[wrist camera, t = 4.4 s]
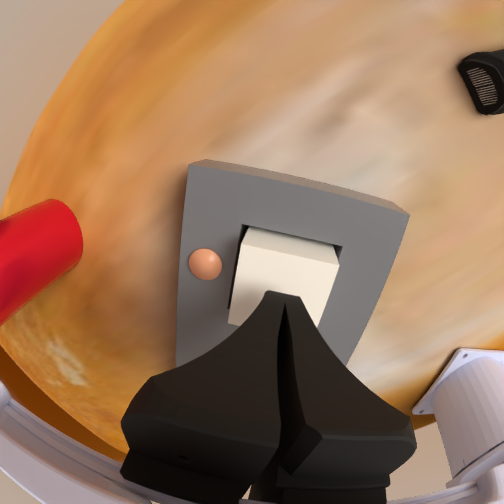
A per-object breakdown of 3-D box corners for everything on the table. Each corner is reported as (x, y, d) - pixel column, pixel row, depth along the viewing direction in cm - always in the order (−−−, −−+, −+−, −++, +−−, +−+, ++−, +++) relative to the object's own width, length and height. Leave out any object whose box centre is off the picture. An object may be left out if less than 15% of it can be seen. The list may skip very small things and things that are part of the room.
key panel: (392, 202, 14) (411, 216, 11) (286, 439, 23) (284, 462, 20) (205, 159, 14) (187, 164, 12) (185, 417, 23) (177, 439, 21)
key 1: (330, 237, 14) (339, 265, 11) (309, 303, 16) (312, 340, 13) (252, 220, 14) (241, 244, 11) (239, 288, 16) (227, 323, 13)
